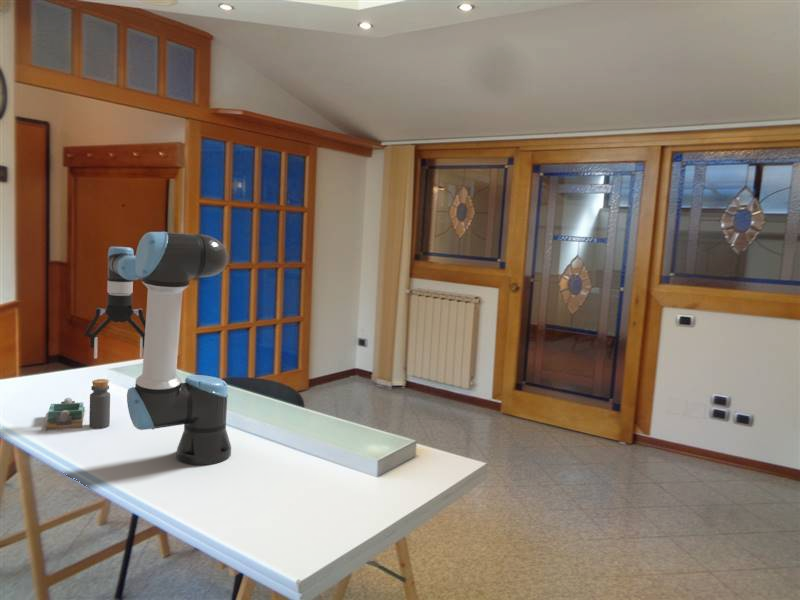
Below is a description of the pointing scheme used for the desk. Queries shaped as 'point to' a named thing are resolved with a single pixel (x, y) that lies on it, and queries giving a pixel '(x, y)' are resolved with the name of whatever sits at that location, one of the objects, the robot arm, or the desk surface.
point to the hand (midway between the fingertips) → (118, 357)
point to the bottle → (99, 404)
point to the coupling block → (65, 415)
